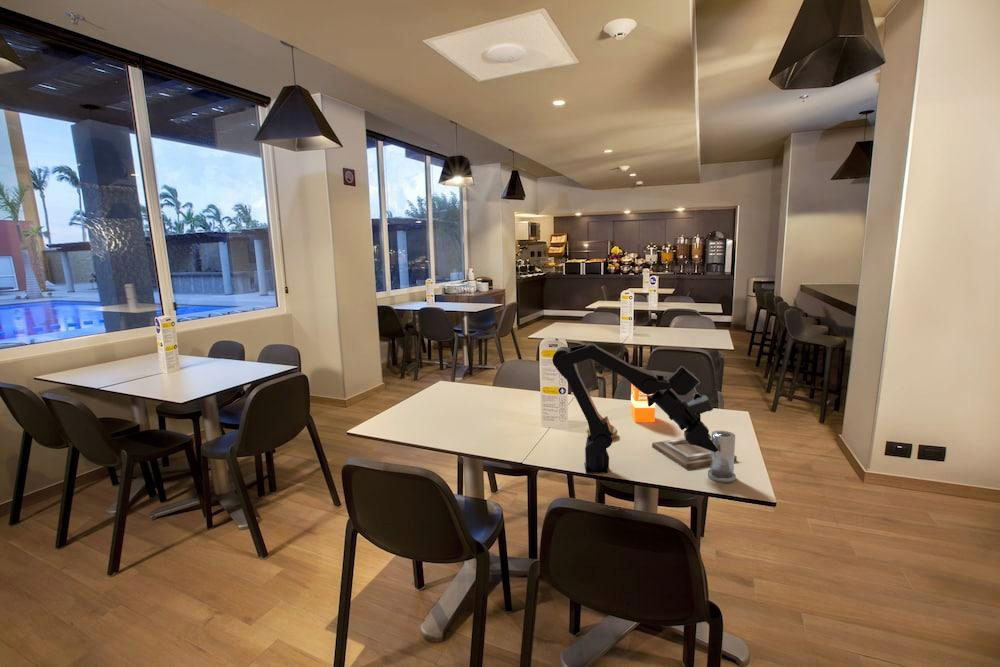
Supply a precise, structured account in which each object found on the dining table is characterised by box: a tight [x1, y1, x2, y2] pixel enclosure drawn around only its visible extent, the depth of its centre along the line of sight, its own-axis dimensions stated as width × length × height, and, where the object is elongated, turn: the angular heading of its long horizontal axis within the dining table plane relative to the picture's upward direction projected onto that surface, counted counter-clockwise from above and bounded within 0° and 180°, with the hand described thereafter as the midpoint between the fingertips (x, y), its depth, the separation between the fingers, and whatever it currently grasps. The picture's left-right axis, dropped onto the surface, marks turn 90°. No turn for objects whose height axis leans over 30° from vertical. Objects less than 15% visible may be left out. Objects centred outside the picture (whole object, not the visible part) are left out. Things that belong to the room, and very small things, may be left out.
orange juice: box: [630, 367, 656, 423], centre depth 187 cm, size 8×9×20 cm
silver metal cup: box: [707, 430, 737, 484], centre depth 136 cm, size 7×7×13 cm
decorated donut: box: [586, 424, 618, 440], centre depth 172 cm, size 10×11×4 cm
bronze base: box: [651, 437, 738, 470], centre depth 154 cm, size 18×18×2 cm
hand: (713, 444), depth 136 cm, fingers open, 9 cm apart
